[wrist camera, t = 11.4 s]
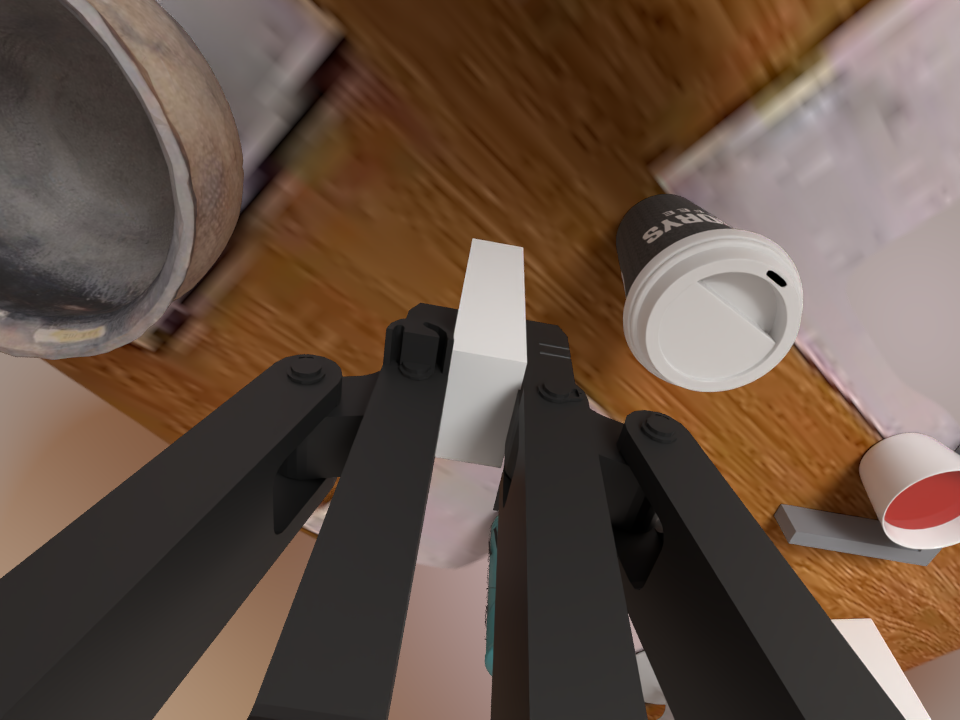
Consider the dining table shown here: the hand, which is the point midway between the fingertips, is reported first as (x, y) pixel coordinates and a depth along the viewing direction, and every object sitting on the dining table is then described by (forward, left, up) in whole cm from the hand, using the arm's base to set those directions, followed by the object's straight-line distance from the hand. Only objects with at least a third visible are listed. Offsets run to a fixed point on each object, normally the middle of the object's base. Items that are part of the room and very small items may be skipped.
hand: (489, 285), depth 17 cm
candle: (+21, +41, -27) cm, 53 cm away
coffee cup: (+5, +13, -27) cm, 30 cm away
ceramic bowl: (+4, -26, -27) cm, 37 cm away
